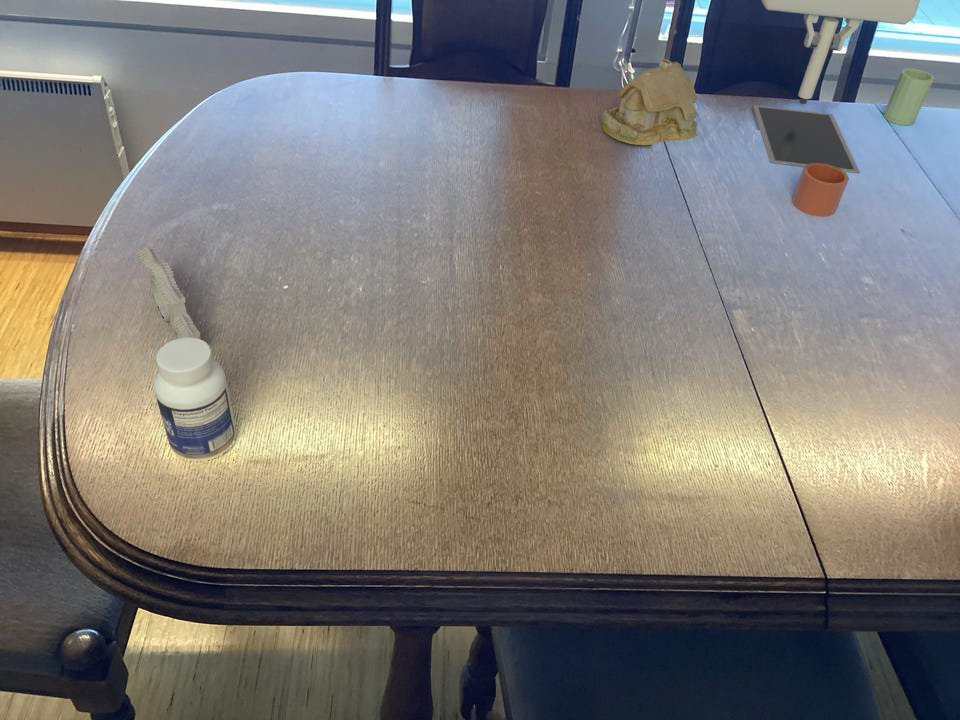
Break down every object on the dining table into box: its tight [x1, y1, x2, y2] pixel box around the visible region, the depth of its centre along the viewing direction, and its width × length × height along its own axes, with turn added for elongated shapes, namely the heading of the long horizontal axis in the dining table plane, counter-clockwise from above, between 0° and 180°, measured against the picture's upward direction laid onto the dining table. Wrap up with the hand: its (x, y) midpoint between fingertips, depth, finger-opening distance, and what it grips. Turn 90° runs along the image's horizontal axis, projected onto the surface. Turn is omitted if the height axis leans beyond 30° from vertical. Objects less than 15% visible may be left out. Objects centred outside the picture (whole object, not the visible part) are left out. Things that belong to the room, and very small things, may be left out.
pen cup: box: [882, 67, 935, 126], centre depth 124 cm, size 5×5×7 cm
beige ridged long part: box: [137, 245, 202, 340], centre depth 77 cm, size 12×2×6 cm, turn 33°
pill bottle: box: [153, 337, 237, 461], centre depth 65 cm, size 5×5×10 cm
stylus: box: [797, 16, 840, 105], centre depth 116 cm, size 2×2×12 cm
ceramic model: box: [600, 58, 698, 146], centre depth 114 cm, size 14×11×10 cm
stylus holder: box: [791, 163, 850, 218], centre depth 102 cm, size 5×5×5 cm
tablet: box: [751, 104, 861, 175], centre depth 118 cm, size 12×18×1 cm, turn 173°
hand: (821, 47), depth 115 cm, fingers closed on stylus, 2 cm apart
